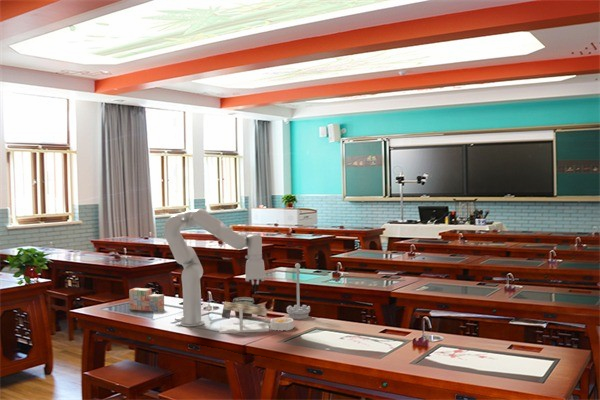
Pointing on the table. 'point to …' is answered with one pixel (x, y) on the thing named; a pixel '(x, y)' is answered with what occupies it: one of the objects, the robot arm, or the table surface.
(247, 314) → the food container
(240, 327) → the catapult stand
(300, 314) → the flag stand
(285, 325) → the white bowl
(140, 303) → the stack of blocks
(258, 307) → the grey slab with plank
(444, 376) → the table surface
